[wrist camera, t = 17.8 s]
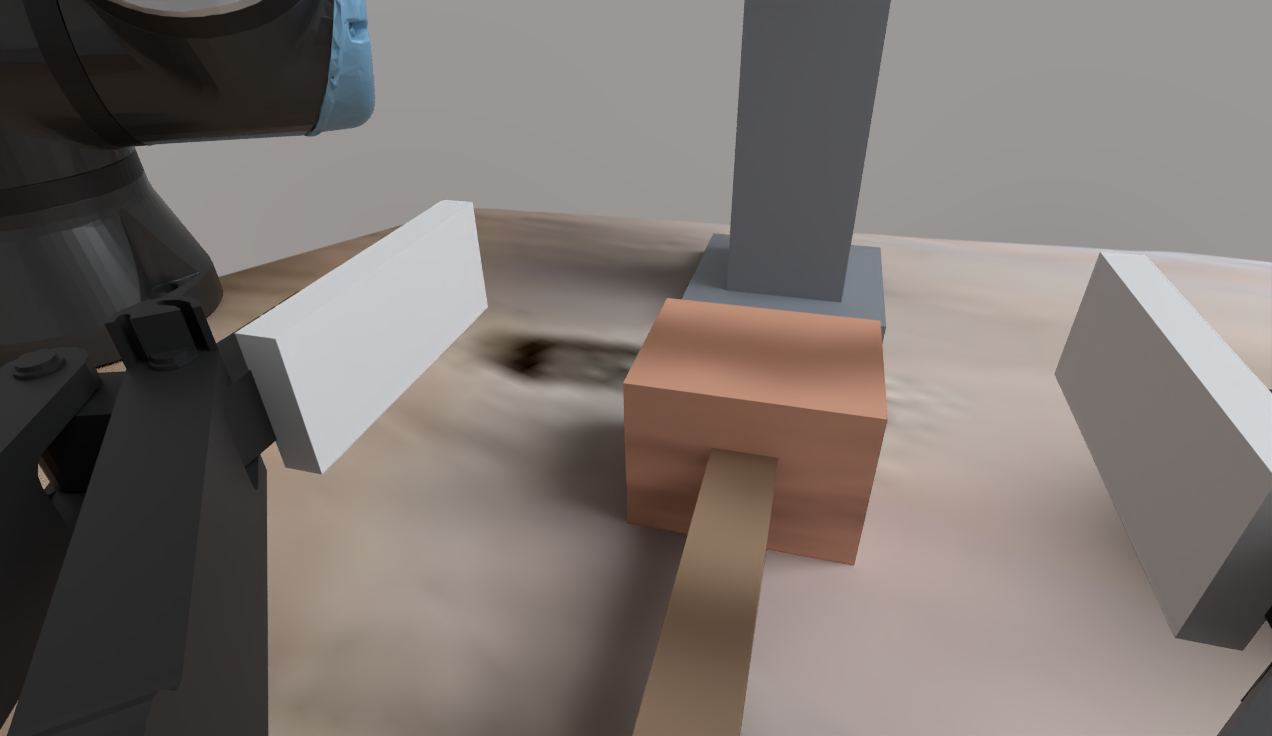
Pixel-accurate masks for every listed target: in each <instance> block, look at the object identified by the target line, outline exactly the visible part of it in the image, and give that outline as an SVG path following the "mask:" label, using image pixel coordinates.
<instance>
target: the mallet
mask: <svg viewBox="0 0 1272 736" xmlns="http://www.w3.org/2000/svg"><path fill="white" fill-rule="evenodd" d="M623 391H624V425H625V459H626V493H627V523H630V524H635V525H640V526H646V527H651V528H657V529H662V530H667V531H673V532H678V533H683V534H688V536H687V539H686V543H685V546H684V550H683V554H682V557H681V561H680V565H679V568H678V572H677V575H676V579H675V583H674V586H673V590H672V593H671V597H670V601H669V604H668V608H667V612H666V615H665V619H664V622H663V626H662V630H661V633H660V637H659V641H658V644H657V648H656V651H655V655H654V659H653V662H652V666H651V670H650V673H649V677H648V680H647V684H646V688H645V691H644V695H643V698H642V702H641V706H640V709H639V713H638V717H637V720H636V724H635V727H634V731H633V735H632V736H740V732H741V724H742V717H743V710H744V703H745V696H746V689H747V682H748V675H749V668H750V661H751V654H752V647H753V640H754V633H755V626H756V619H757V611H758V604H759V597H760V590H761V583H762V576H763V569H764V562H765V555H766V549H769V550H775V551H780V552H785V553H791V554H796V555H801V556H807V557H812V558H818V559H823V560H828V561H834V562H839V563H844V564H850V565H854V564H855V560H856V555H857V551H858V546H859V542H860V538H861V533H862V529H863V525H864V520H865V516H866V511H867V507H868V503H869V498H870V494H871V490H872V485H873V481H874V476H875V472H876V468H877V463H878V459H879V455H880V450H881V446H882V441H883V437H884V433H885V428H886V424H887V405H886V391H885V377H884V363H883V349H882V335H881V321H879V320H869V319H860V318H851V317H841V316H832V315H823V314H813V313H804V312H794V311H785V310H776V309H766V308H757V307H747V306H738V305H729V304H719V303H710V302H701V301H691V300H682V299H672V298H667V299H666V301H665V303H664V305H663V307H662V309H661V311H660V313H659V315H658V316H657V318H656V320H655V322H654V324H653V326H652V328H651V330H650V332H649V334H648V336H647V338H646V340H645V342H644V344H643V346H642V348H641V350H640V351H639V353H638V355H637V357H636V359H635V361H634V363H633V365H632V367H631V369H630V371H629V373H628V375H627V377H626V379H625V381H624V383H623Z"/></svg>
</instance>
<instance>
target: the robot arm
mask: <svg viewBox="0 0 1272 736" xmlns="http://www.w3.org/2000/svg"><path fill="white" fill-rule="evenodd" d="M374 106H375V88H374V75H373V64H372V54H371V45H370V38H369V32H368V20H367V12H366V0H0V729H1V728H2V726H3V724H4V723H5V721H6V719H7V718H8V716H9V714H10V713H11V711H12V709H13V708H14V706H15V705H16V703H17V701H18V700H19V701H18V704H17V707H16V710H15V713H14V716H13V719H12V722H11V725H10V728H9V731H8V734H7V736H268V612H267V470H266V468H265V465H264V463H263V460H262V458H261V455H260V454H261V453H262V452H263V451H264V450H265V449H266V448H268V447H269V446H270V445H271V444H272V443H273V442H274V441H276V444H277V446H278V449H279V452H280V454H281V457H282V459H283V462H284V465H285V467H286V468H291V469H297V470H302V471H307V472H312V473H317V474H323V473H324V472H325V471H326V470H327V469H328V468H329V467H330V466H331V465H332V464H333V463H334V462H335V461H336V460H337V459H338V458H339V457H340V456H341V455H342V454H343V453H344V452H345V451H346V450H347V449H348V448H349V447H350V446H351V445H352V444H353V443H354V442H355V441H356V440H357V439H358V438H359V437H360V436H361V435H362V434H363V433H364V432H365V431H366V430H367V429H368V428H369V427H370V426H371V425H372V424H373V423H374V422H375V421H376V420H377V419H378V418H379V417H380V416H381V414H382V413H383V412H384V411H385V410H386V409H387V408H388V407H389V406H390V405H391V404H392V403H393V402H394V401H395V400H396V399H397V398H398V397H399V396H400V395H401V394H402V393H403V392H404V391H405V390H406V389H407V388H408V387H409V386H410V385H411V384H412V383H413V382H414V381H415V380H416V379H417V378H418V377H419V376H420V375H421V374H422V373H423V372H424V371H425V370H426V369H427V368H428V367H429V366H430V365H431V364H432V363H433V362H434V361H435V360H436V359H437V358H438V357H439V356H440V355H441V354H442V353H443V352H444V351H445V350H446V349H447V348H448V347H449V346H450V345H451V344H452V343H453V342H454V341H455V340H456V339H457V338H458V337H459V336H460V335H461V334H462V333H463V332H464V331H465V330H466V329H467V328H468V327H469V326H470V325H471V324H472V323H473V322H474V321H475V320H476V319H477V318H478V317H479V316H480V315H481V314H482V313H483V312H484V311H485V310H486V309H487V307H488V305H487V298H486V291H485V284H484V278H483V271H482V264H481V257H480V250H479V244H478V237H477V230H476V223H475V216H474V210H473V204H472V202H464V201H451V200H442V201H441V202H439V203H437V204H436V205H434V206H433V207H431V208H429V209H428V210H426V211H425V212H423V213H422V214H420V215H419V216H417V217H415V218H414V219H412V220H411V221H409V222H408V223H406V224H404V225H403V226H401V227H400V228H398V229H397V230H395V231H394V232H392V233H390V234H389V235H387V236H386V237H384V238H383V239H381V240H379V241H378V242H376V243H375V244H373V245H372V246H370V247H368V248H367V249H365V250H364V251H362V252H361V253H359V254H358V255H356V256H354V257H353V258H351V259H350V260H348V261H347V262H345V263H343V264H342V265H340V266H339V267H337V268H336V269H334V270H332V271H331V272H329V273H328V274H326V275H325V276H323V277H322V278H320V279H318V280H317V281H315V282H314V283H312V284H311V285H309V286H307V287H306V288H304V289H303V290H301V291H299V292H296V293H295V294H293V295H292V296H290V297H289V298H287V299H285V300H284V301H282V302H281V303H279V304H278V306H276V307H275V306H274V307H273V308H271V309H270V310H268V311H267V312H265V313H263V315H262V316H261V317H260V316H259V317H257V318H256V319H254V320H252V321H251V322H249V323H248V324H246V325H245V326H243V327H241V328H240V329H238V330H237V331H235V332H234V333H232V334H230V335H229V336H227V337H226V338H224V339H223V340H221V341H220V342H218V343H216V342H215V340H214V337H213V335H212V332H211V330H210V327H209V325H208V322H207V320H206V317H207V316H208V315H209V314H210V313H211V312H213V310H214V309H215V308H216V307H217V306H218V304H219V303H220V301H221V299H222V296H223V289H222V286H221V283H220V280H219V278H218V275H217V273H216V270H215V268H214V265H213V262H212V261H211V259H210V257H209V256H208V254H207V253H206V252H205V251H204V250H203V248H202V247H201V246H200V245H199V243H198V242H197V241H196V240H195V238H194V237H193V236H192V235H191V234H190V232H189V231H188V230H187V229H186V227H185V226H184V225H183V224H182V223H181V221H180V220H179V219H178V218H177V217H176V215H175V214H174V213H173V212H172V211H171V209H170V208H169V207H168V206H167V204H165V202H164V201H163V200H162V198H161V197H160V196H159V195H158V194H157V192H156V191H155V190H154V189H153V187H152V186H151V184H150V183H149V181H148V179H147V176H146V174H145V171H144V169H143V167H142V164H141V162H140V159H139V157H138V154H137V152H136V150H135V146H145V145H149V146H150V145H155V144H167V143H183V142H200V141H216V140H234V139H250V138H267V137H282V136H300V135H305V136H316V135H318V134H320V133H321V132H325V131H333V130H340V129H348V128H355V127H358V126H361V125H362V124H364V123H365V122H366V121H367V120H368V119H369V118H370V117H371V115H372V113H373V111H374ZM120 359H122V361H123V363H124V365H125V367H126V371H125V372H107V373H98V372H97V370H96V368H95V367H96V366H100V365H104V364H107V363H110V362H114V361H117V360H120ZM1055 376H1056V378H1057V381H1058V383H1059V385H1060V387H1061V389H1062V391H1063V394H1064V396H1065V398H1066V400H1067V402H1068V405H1069V407H1070V409H1071V411H1072V413H1073V416H1074V418H1075V420H1076V422H1077V424H1078V427H1079V429H1080V431H1081V433H1082V435H1083V437H1084V440H1085V442H1086V444H1087V446H1088V448H1089V451H1090V453H1091V455H1092V457H1093V459H1094V462H1095V464H1096V466H1097V468H1098V470H1099V473H1100V475H1101V477H1102V479H1103V481H1104V483H1105V486H1106V488H1107V490H1108V492H1109V494H1110V497H1111V499H1112V501H1113V503H1114V505H1115V508H1116V510H1117V512H1118V514H1119V516H1120V519H1121V521H1122V523H1123V525H1124V527H1125V530H1126V532H1127V534H1128V536H1129V538H1130V540H1131V543H1132V545H1133V547H1134V549H1135V551H1136V554H1137V556H1138V558H1139V560H1140V562H1141V565H1142V567H1143V569H1144V571H1145V573H1146V576H1147V578H1148V580H1149V582H1150V584H1151V586H1152V589H1153V591H1154V593H1155V595H1156V597H1157V600H1158V602H1159V604H1160V606H1161V608H1162V611H1163V613H1164V615H1165V617H1166V619H1167V622H1168V624H1169V626H1170V628H1171V630H1172V632H1173V635H1174V637H1175V638H1179V639H1184V640H1189V641H1194V642H1199V643H1205V644H1210V645H1215V646H1220V647H1226V648H1231V649H1236V650H1241V651H1243V650H1244V649H1245V647H1246V646H1247V645H1248V643H1249V642H1250V640H1251V639H1252V638H1253V636H1254V635H1255V634H1256V632H1257V631H1258V630H1259V628H1260V627H1261V626H1262V624H1263V623H1264V622H1265V620H1267V621H1268V623H1269V625H1270V626H1271V628H1272V390H1269V389H1267V388H1266V386H1265V385H1264V384H1263V383H1262V382H1261V381H1260V380H1259V379H1258V378H1257V377H1256V376H1255V374H1254V373H1253V372H1252V371H1251V370H1250V369H1249V368H1248V367H1247V366H1246V365H1245V363H1244V362H1243V361H1242V360H1241V359H1240V358H1239V357H1238V356H1237V355H1236V354H1235V353H1234V351H1233V350H1232V349H1231V348H1230V347H1229V346H1228V345H1227V344H1226V343H1225V342H1224V340H1223V339H1222V338H1221V337H1220V336H1219V335H1218V334H1217V333H1216V332H1215V331H1214V330H1213V328H1212V327H1211V326H1210V325H1209V324H1208V323H1207V322H1206V321H1205V320H1204V319H1203V317H1202V316H1201V315H1200V314H1199V313H1198V312H1197V311H1196V310H1195V309H1194V308H1193V306H1192V305H1191V304H1190V303H1189V302H1188V301H1187V300H1186V299H1185V298H1184V297H1183V296H1182V294H1181V293H1180V292H1179V291H1178V290H1177V289H1176V288H1175V287H1174V286H1173V285H1172V283H1171V282H1170V281H1169V280H1168V279H1167V278H1166V277H1165V276H1164V275H1163V274H1162V273H1161V271H1160V270H1159V269H1158V268H1157V267H1156V266H1155V265H1154V264H1153V263H1152V262H1151V260H1150V259H1149V258H1148V257H1147V256H1146V255H1133V254H1121V253H1108V252H1100V254H1099V256H1098V259H1097V262H1096V264H1095V267H1094V270H1093V272H1092V275H1091V278H1090V280H1089V283H1088V286H1087V288H1086V291H1085V294H1084V296H1083V299H1082V302H1081V304H1080V307H1079V310H1078V312H1077V315H1076V318H1075V320H1074V323H1073V326H1072V328H1071V331H1070V334H1069V336H1068V339H1067V342H1066V344H1065V347H1064V350H1063V352H1062V355H1061V358H1060V360H1059V363H1058V366H1057V368H1056V371H1055ZM38 464H39V465H40V467H41V469H42V470H43V472H44V473H45V475H46V476H47V478H48V480H49V481H50V483H49V484H48V485H47V487H46V488H45V489H43V488H42V486H41V483H40V480H39V477H38ZM1241 701H1242V702H1241V704H1240V705H1239V707H1238V708H1237V709H1236V711H1235V712H1234V713H1233V715H1232V716H1231V717H1230V719H1229V720H1228V721H1227V723H1226V724H1225V726H1224V727H1223V728H1222V730H1221V731H1220V732H1219V734H1218V735H1217V736H1272V662H1271V663H1270V664H1269V666H1268V667H1267V668H1266V670H1265V671H1264V672H1263V673H1262V675H1261V676H1260V677H1259V678H1258V680H1257V681H1256V682H1255V683H1254V685H1253V686H1252V687H1251V688H1250V690H1249V691H1248V692H1247V694H1246V695H1245V696H1244V697H1243V699H1242V700H1241Z"/></svg>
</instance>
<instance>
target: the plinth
mask: <svg viewBox="0 0 1272 736" xmlns="http://www.w3.org/2000/svg"><path fill="white" fill-rule="evenodd" d="M890 2H891V0H745V3H744V21H743V35H742V51H741V67H740V84H739V85H740V86H739V101H738V116H737V132H736V148H735V164H734V180H733V196H732V213H731V228H730V235H725V234H713V236H712V238H711V240H710V242H709V244H708V246H707V248H706V250H705V252H704V254H703V256H702V258H701V260H700V262H699V264H698V266H697V268H696V270H695V273H694V275H693V277H692V279H691V281H690V283H689V285H688V287H687V289H686V291H685V293H684V295H683V297H682V300H691V301H701V302H710V303H719V304H729V305H738V306H747V307H757V308H766V309H776V310H785V311H794V312H804V313H813V314H823V315H832V316H841V317H851V318H860V319H869V320H879V321H881V335H882V343H883V339H884V334H885V329H886V319H885V305H884V292H883V278H882V264H881V250H880V248H878V247H867V246H855V245H851V241H852V234H853V228H854V222H855V216H856V210H857V204H858V198H859V192H860V186H861V179H862V173H863V167H864V161H865V155H866V149H867V142H868V137H869V130H870V124H871V118H872V112H873V106H874V100H875V93H876V88H877V82H878V76H879V69H880V63H881V57H882V51H883V45H884V39H885V33H886V26H887V21H888V14H889V8H890Z"/></svg>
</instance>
